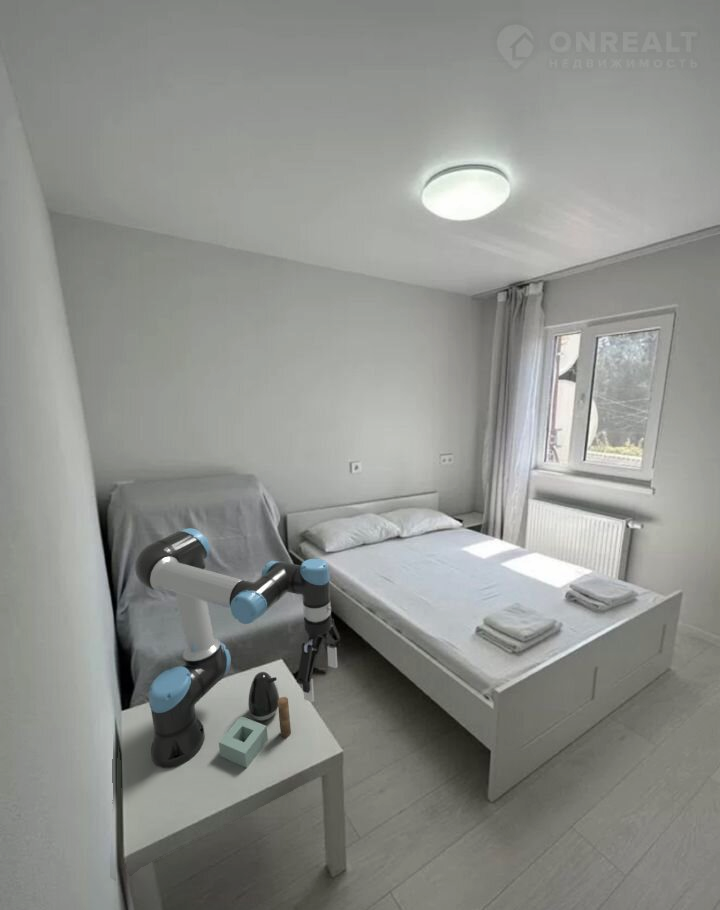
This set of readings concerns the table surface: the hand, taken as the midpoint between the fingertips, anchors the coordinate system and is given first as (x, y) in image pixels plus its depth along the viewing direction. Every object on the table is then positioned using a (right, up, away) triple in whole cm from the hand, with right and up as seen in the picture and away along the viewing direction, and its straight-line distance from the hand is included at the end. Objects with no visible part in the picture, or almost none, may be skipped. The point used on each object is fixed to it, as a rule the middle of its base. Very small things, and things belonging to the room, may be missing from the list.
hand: (321, 682), depth 113 cm
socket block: (-25, -25, +9) cm, 36 cm away
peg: (-13, -24, +13) cm, 30 cm away
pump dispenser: (-21, -23, +21) cm, 38 cm away
